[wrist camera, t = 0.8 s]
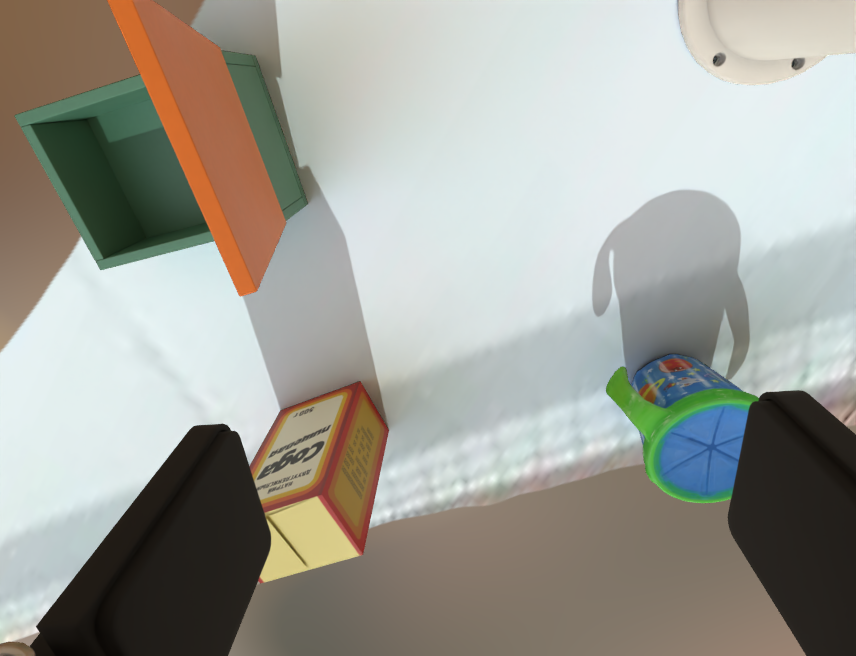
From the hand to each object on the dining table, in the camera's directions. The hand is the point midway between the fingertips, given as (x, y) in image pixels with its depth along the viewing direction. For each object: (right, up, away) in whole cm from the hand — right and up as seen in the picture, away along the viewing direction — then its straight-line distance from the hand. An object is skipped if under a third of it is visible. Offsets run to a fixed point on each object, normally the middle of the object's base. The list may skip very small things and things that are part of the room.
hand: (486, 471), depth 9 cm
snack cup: (+22, -3, +39) cm, 45 cm away
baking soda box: (-11, -7, +43) cm, 45 cm away
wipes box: (-20, +17, +33) cm, 42 cm away
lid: (-12, +12, +17) cm, 24 cm away
